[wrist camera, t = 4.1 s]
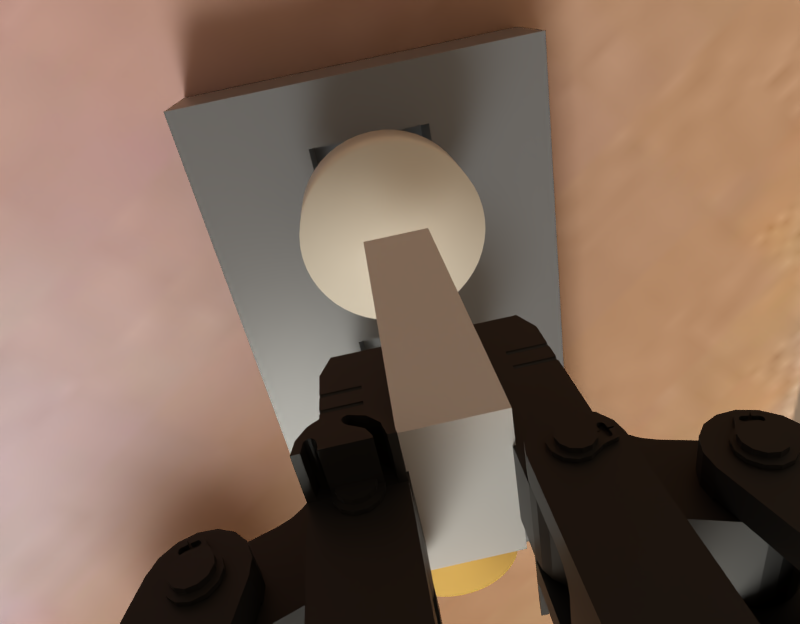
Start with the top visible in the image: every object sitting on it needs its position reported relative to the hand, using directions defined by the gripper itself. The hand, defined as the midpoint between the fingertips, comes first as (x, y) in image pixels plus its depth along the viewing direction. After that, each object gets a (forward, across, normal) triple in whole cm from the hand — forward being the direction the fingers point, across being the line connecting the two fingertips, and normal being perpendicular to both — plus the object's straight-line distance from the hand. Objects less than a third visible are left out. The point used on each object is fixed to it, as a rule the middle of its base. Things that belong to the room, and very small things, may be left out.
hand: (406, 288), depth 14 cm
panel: (+10, 0, -7) cm, 12 cm away
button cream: (+7, 0, 0) cm, 7 cm away
